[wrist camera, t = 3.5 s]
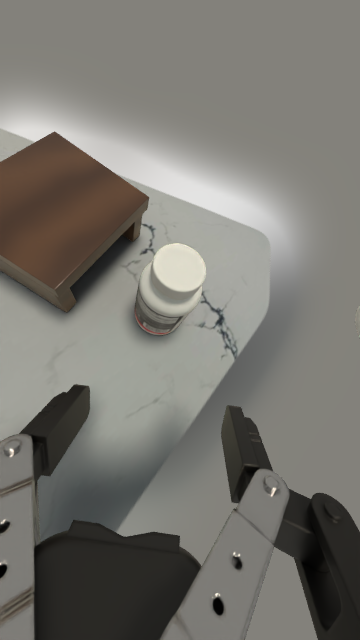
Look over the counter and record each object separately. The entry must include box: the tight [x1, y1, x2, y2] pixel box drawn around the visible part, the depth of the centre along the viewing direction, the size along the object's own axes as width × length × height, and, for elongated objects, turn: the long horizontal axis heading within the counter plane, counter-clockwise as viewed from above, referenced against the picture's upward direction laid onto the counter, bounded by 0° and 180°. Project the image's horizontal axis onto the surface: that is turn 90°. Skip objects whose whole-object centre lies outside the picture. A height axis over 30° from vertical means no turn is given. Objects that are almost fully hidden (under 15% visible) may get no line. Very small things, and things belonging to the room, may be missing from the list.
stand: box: [0, 132, 149, 313], centre depth 21 cm, size 11×13×6 cm
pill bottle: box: [135, 243, 206, 335], centre depth 19 cm, size 5×5×10 cm
